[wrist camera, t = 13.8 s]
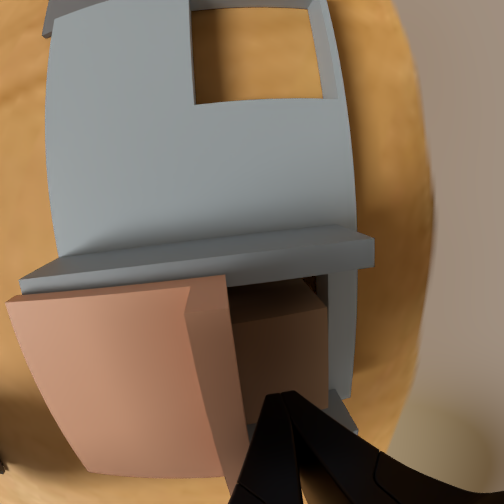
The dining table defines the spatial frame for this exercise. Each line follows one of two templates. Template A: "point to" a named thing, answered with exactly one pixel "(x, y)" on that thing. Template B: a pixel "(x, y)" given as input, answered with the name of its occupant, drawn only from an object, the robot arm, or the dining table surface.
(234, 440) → the cover
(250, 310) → the walnut cube
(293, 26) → the dining table surface
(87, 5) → the mat
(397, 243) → the dining table surface
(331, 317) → the puzzle board
